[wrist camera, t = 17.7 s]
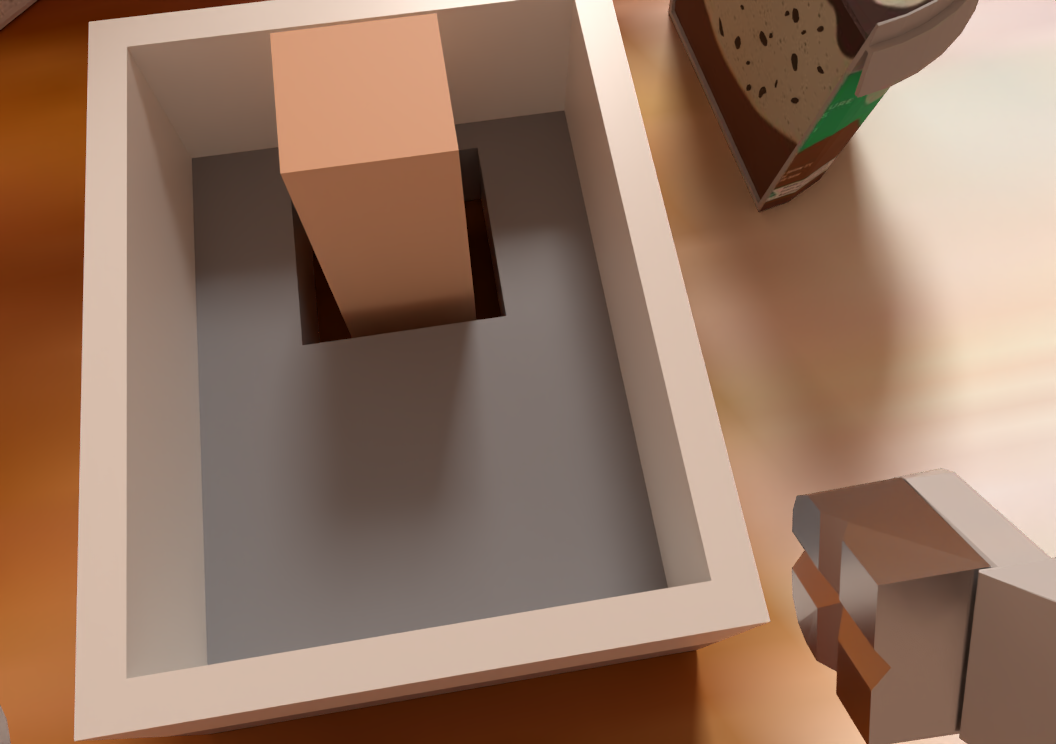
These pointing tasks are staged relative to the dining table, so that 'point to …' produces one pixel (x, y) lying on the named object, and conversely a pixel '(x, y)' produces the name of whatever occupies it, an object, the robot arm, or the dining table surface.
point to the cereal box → (12, 10)
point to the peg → (376, 169)
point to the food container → (805, 74)
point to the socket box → (383, 395)
